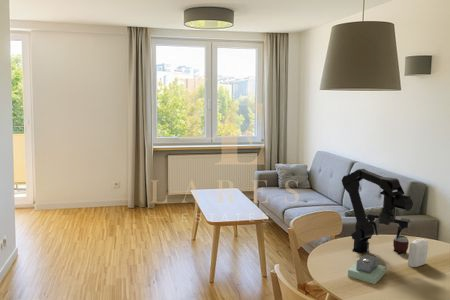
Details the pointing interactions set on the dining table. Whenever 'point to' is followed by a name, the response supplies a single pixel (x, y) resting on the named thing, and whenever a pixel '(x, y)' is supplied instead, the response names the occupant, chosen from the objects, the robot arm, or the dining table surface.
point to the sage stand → (367, 274)
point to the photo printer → (418, 253)
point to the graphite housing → (367, 263)
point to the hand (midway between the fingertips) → (387, 237)
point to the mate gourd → (401, 244)
